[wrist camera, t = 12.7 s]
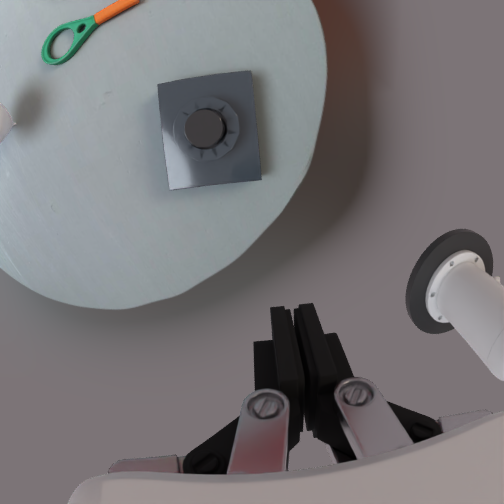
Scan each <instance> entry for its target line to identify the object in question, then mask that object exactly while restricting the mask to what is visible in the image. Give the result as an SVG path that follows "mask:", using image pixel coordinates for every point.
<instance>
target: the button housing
mask: <svg viewBox="0 0 504 504" xmlns="http://www.w3.org/2000/svg"><path fill="white" fill-rule="evenodd" d="M157 86H158V98H159V109H160V119H161V128H162V137H163V145H164V153H165V161H166V169H167V176H168V183H169V190H177V189H184V188H192V187H200V186H208V185H217V184H226V183H236V182H246V181H257V180H262V178H261V166H260V155H259V144H258V134H257V123H256V113H255V103H254V93H253V83H252V73H251V71H240V72H230V73H222V74H214V75H207V76H200V77H194V78H188V79H182V80H177V81H171V82H166V83H162V84H158V85H157ZM198 110H210V111H213V112H214V113H216V114H217V115H218V116H220V118H221V119H222V121H223V123H224V134H223V136H222V138H221V139H220V141H219V142H217V143H216V144H214V145H212V146H208V147H198V146H195V145H193V144H192V143H190V142H189V141H188V139H187V138H186V136H185V132H184V126H185V123H186V120H187V119H188V117H189V116H190V115H191V114H192V113H194V112H196V111H198Z"/></svg>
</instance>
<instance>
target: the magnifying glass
mask: <svg viewBox="0 0 504 504" xmlns="http://www.w3.org/2000/svg"><path fill="white" fill-rule="evenodd" d="M139 2H140V1H139V0H118V1H117V2H115V3H113V4H111V5H110V6H108V7H106V8H104V9H103V10H101V11H99V12H98V13H96V14H95V15H93V16H90V17H87V18H83V19H79V20H75V21H71V22H68V23H65V24H62V25H60V26H58V27H57V28H56V29H54V30H53V31H52V32H51V33H50V34H49V36H48V37H47V39H46V40H45V42H44V44H43V47H42V52H41V55H42V59H43V61H44V62H45V63H47V64H50V65H59V64H62V63H64V62H66V61H67V60H69V59H70V58H71V57H72V56H73V55H74V54H75V53H76V51H77V50H78V49H79V48H80V46H81V45H82V44H83V43H84V41H85V40H86V39H87V38H88V36H89V35H90V34H91V33H92V32H93V30H94V29H95V28H96V27H97V26H99V25H100V24H102V23H103V22H105V21H106V20H108V19H110V18H112V17H113V16H115V15H117V14H119V13H120V12H122V11H124V10H126V9H128V8H130V7H132V6H134V5H135V4H138V3H139ZM84 25H86V28H85V30H84V31H83V32H81V33H80V32H79V31H80V28H81V27H82V26H84ZM65 29H72V30H73V32H74V41H73V44H72V46H71V48H70V49H69V51H68V52H67V53H66V54H65V55H64V56H63V57H61V58H59V59H53V58H52V57H51V55H50V46H51V43H52V41H53V39H54V38H55V37H56V35H57V34H58V33H60V32H61V31H63V30H65Z"/></svg>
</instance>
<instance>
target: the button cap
mask: <svg viewBox="0 0 504 504" xmlns="http://www.w3.org/2000/svg"><path fill="white" fill-rule="evenodd" d="M184 132H185V136H186V138H187V139H188V141H189V142H190V143H192V144H193V145H195V146H198V147H208V146H212V145H214V144H216V143H217V142H219V141H220V139H221V138H222V136H223V134H224V123H223V121H222V119H221V118H220V116H218V115H217V114H216V113H214V112H213V111H210V110H198V111H196V112H194V113H192V114H191V115H190V116H189V117H188V119H187V120H186V123H185V126H184Z"/></svg>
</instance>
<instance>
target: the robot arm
mask: <svg viewBox="0 0 504 504" xmlns="http://www.w3.org/2000/svg"><path fill="white" fill-rule="evenodd" d="M425 302H426V308H427V311H428V313H429V314H430V315H431V317H432V318H433V319H434V320H436V321H438V322H442V323H448V322H450V323H451V324H452V326H453V327H454V328H455V329H456V330H457V331H458V332H459V334H461V336H462V337H463V338H464V339H465V341H466V342H467V343H468V344H469V345H470V346H471V348H472V349H473V350H474V351H475V352H476V354H477V355H478V356H479V357H480V358H481V360H482V361H483V362H484V364H485V365H486V366H487V367H488V368H489V370H490V371H491V372H492V374H493V375H494V376H495V377H497V378H498V379H500V380H502V381H504V286H503V285H501V284H500V277H499V276H496V277H491V276H490V275H489V274H487V273H486V272H485V266H484V263H483V261H482V259H481V258H480V256H478V255H477V254H476V253H474V252H472V251H469V250H462V251H458V252H456V253H454V254H452V255H450V256H449V257H448V258H446V259H445V260H444V261H443V262H442V263H441V264H440V265H439V267H438V268H437V269H436V271H435V272H434V274H433V276H432V278H431V280H430V282H429V285H428V287H427V291H426V299H425ZM270 312H271V325H272V339H273V340H268V341H256V342H254V376H255V391H254V392H252V393H251V394H249V395H248V396H247V397H246V398H245V399H244V401H243V404H242V408H241V412H240V416H239V417H237V418H236V419H235V420H233V421H232V422H231V423H229V424H228V425H227V426H226V427H224V428H223V429H221V430H220V431H219V432H217V433H216V434H215V435H213V436H212V437H211V438H209V439H208V440H206V441H205V442H204V443H202V444H201V445H199V446H198V447H196V448H195V449H194V450H192V451H191V452H190V453H188V454H187V455H186V456H182V457H177V455H169V456H161V457H149V458H137V459H123V460H118V461H117V462H115V463H113V464H112V466H111V467H110V468H109V471H108V474H105V475H100V476H96V477H93V478H90V479H87V480H85V481H84V482H82V483H81V484H80V485H79V486H78V487H77V488H76V489H75V491H74V492H73V494H72V495H71V497H70V499H69V501H68V503H67V504H504V411H501V412H497V413H494V414H493V413H492V412H491V411H488V410H477V411H472V412H467V413H462V414H456V415H450V416H443V417H439V419H438V420H434V419H432V418H430V417H428V416H425V415H422V414H419V413H417V412H414V411H411V410H408V409H406V408H403V407H401V406H398V405H396V404H393V403H390V402H388V401H386V400H385V399H384V397H383V395H382V394H381V392H380V391H379V390H378V388H377V387H376V385H375V384H374V383H373V382H371V381H370V380H368V379H365V378H362V377H354V376H353V373H352V371H351V368H350V365H349V363H348V360H347V358H346V355H345V353H344V350H343V348H342V345H341V343H340V340H339V338H338V336H337V334H336V333H329V334H324V332H323V330H322V327H321V324H320V321H319V318H318V316H317V313H316V310H315V307H314V305H313V303H309V304H300V305H299V308H297V309H294V325H293V321H292V316H291V312H290V309H287V310H285V308H284V306H280V307H271V308H270ZM304 417H305V423H306V428H307V431H311V430H312V432H313V437H314V438H318V439H319V440H321V441H323V442H324V443H326V448H327V451H328V453H329V456H330V458H331V461H332V463H333V465H328V466H322V467H316V468H309V469H302V470H293V471H289V459H290V450H291V449H292V448H293V447H294V446H295V445H296V444H297V443H298V442H299V440H300V432H303V420H304Z"/></svg>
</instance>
